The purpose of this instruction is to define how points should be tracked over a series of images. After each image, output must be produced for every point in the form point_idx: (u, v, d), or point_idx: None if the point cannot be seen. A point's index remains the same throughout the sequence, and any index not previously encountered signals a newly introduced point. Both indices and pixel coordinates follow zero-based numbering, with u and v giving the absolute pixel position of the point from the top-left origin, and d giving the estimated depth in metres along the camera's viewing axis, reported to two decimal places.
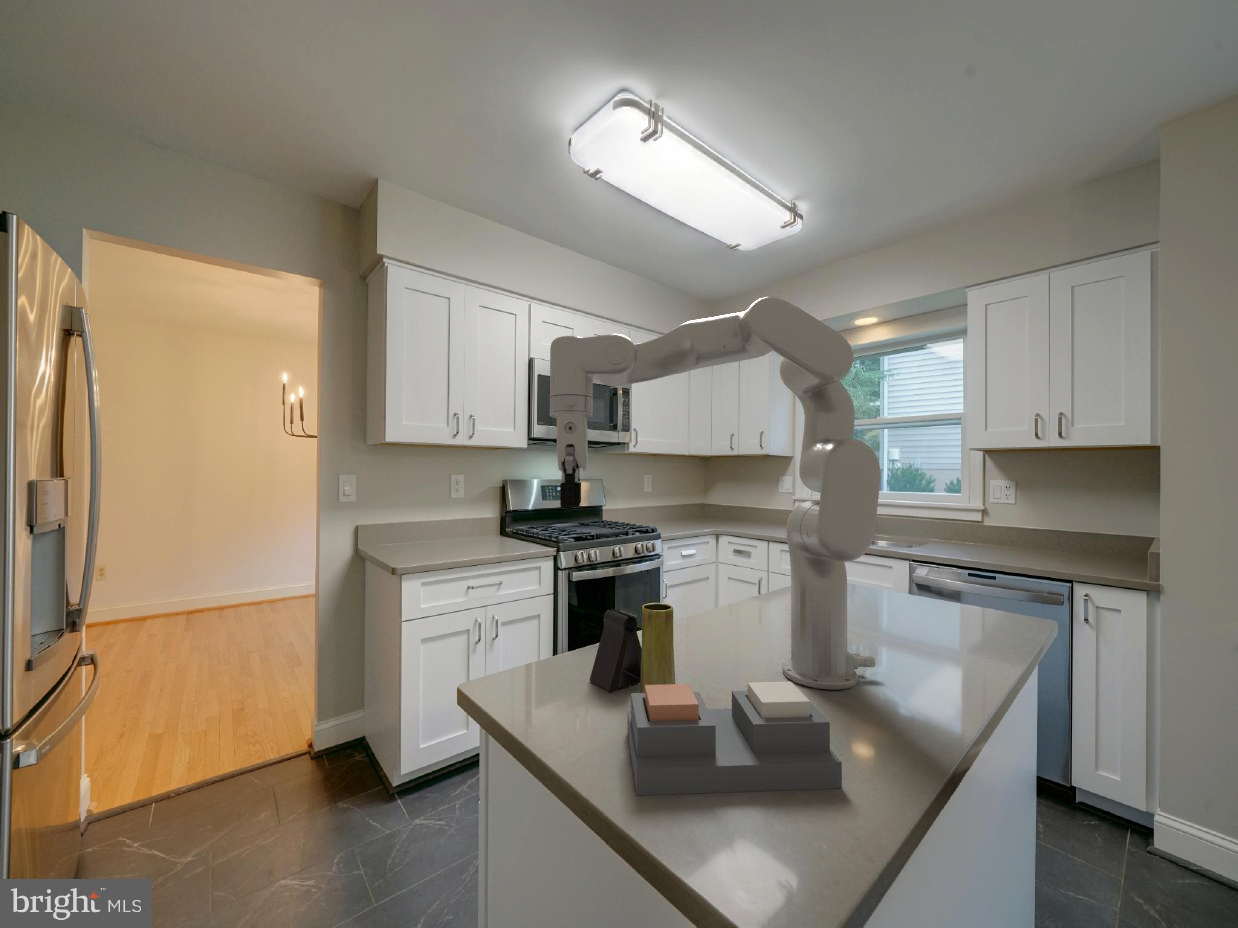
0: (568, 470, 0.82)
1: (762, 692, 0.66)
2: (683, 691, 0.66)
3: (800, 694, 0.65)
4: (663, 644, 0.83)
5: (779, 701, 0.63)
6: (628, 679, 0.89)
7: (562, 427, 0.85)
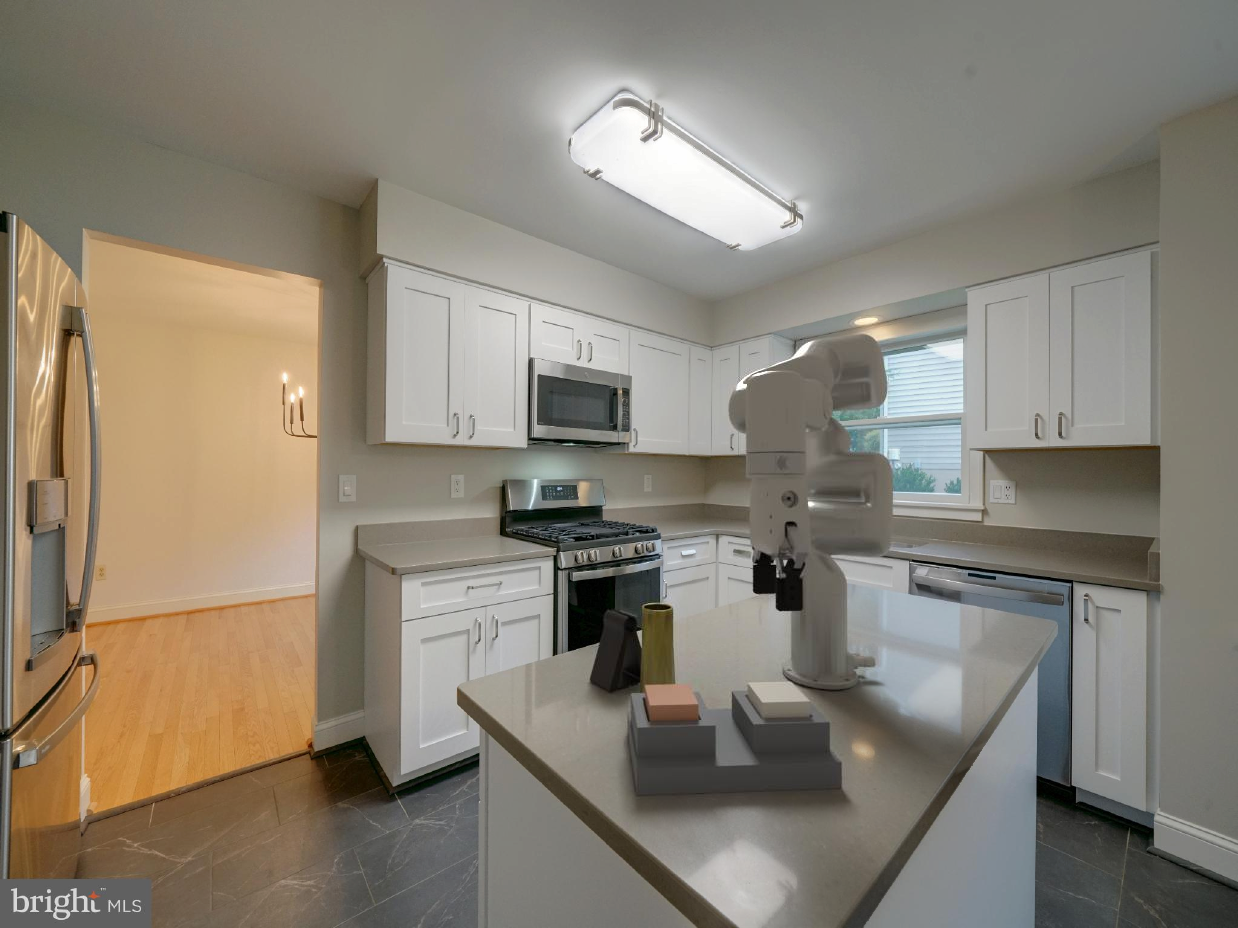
0: (797, 564, 0.59)
1: (762, 692, 0.66)
2: (683, 691, 0.66)
3: (800, 694, 0.65)
4: (663, 644, 0.83)
5: (779, 701, 0.63)
6: (628, 679, 0.89)
7: (778, 497, 0.62)
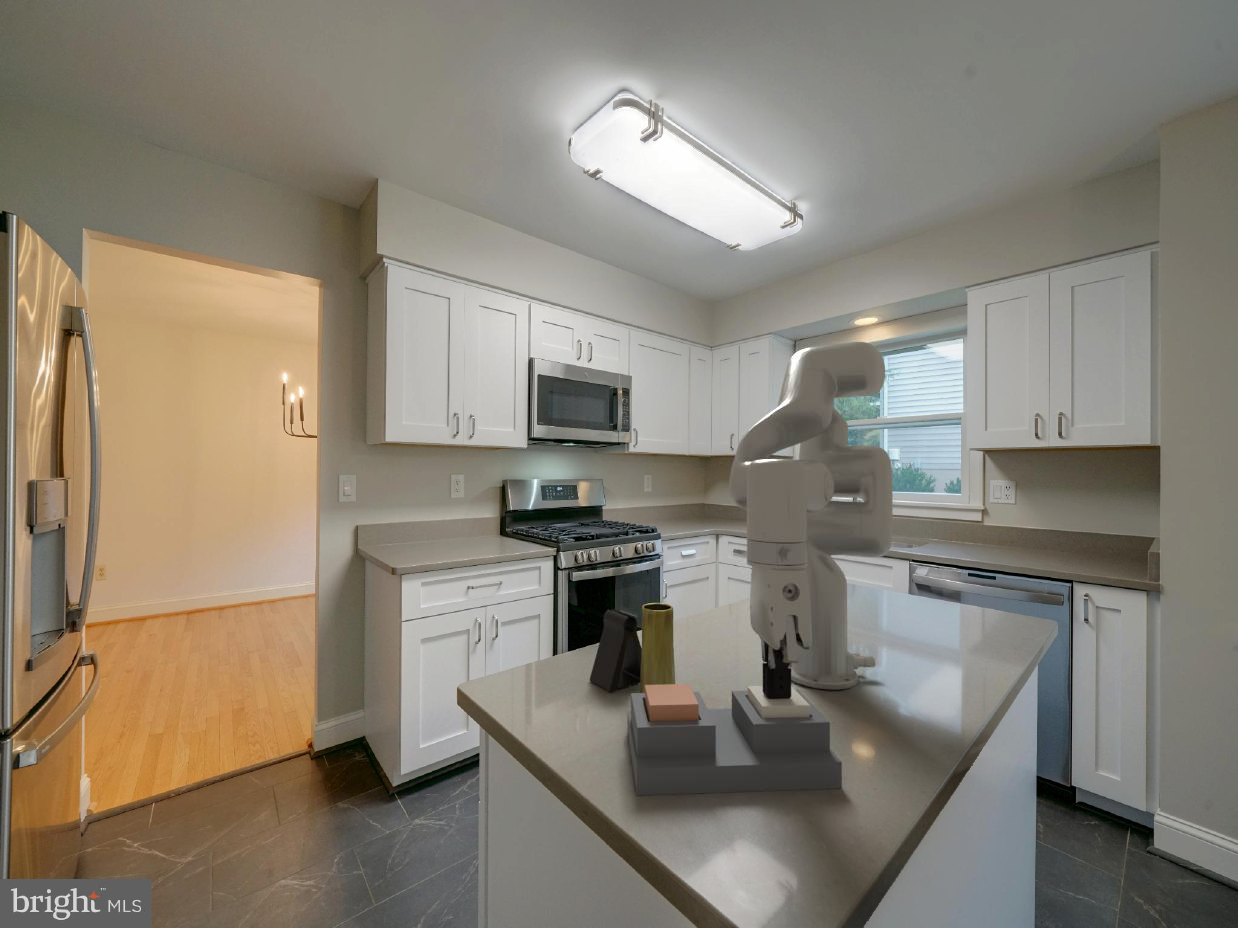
0: None
1: (762, 696, 0.66)
2: (683, 691, 0.66)
3: (800, 698, 0.65)
4: (663, 644, 0.83)
5: (779, 705, 0.63)
6: (628, 679, 0.89)
7: (779, 590, 0.62)
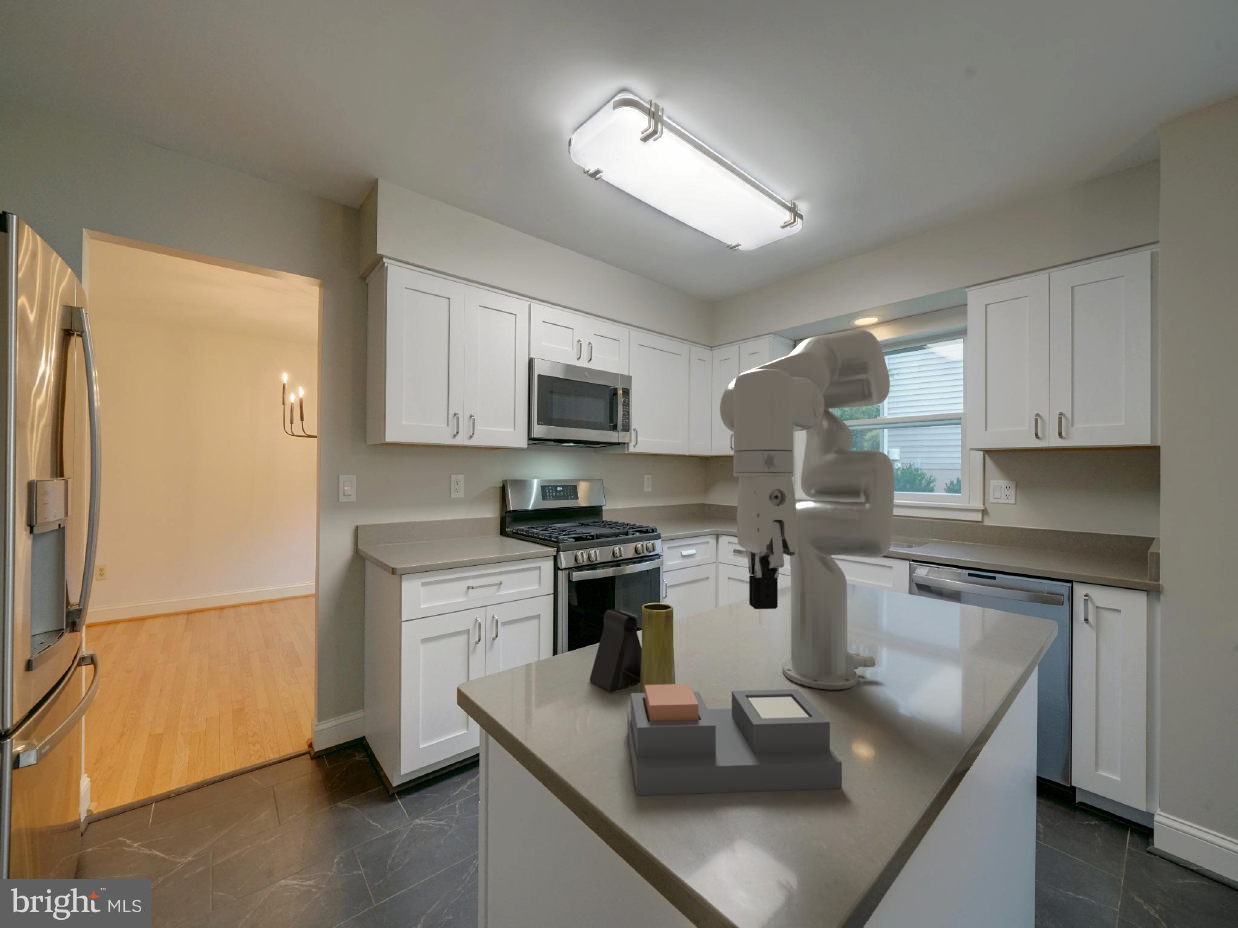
0: None
1: (762, 708, 0.66)
2: (683, 691, 0.66)
3: (800, 710, 0.65)
4: (663, 644, 0.83)
5: (779, 717, 0.63)
6: (628, 679, 0.89)
7: (766, 496, 0.62)
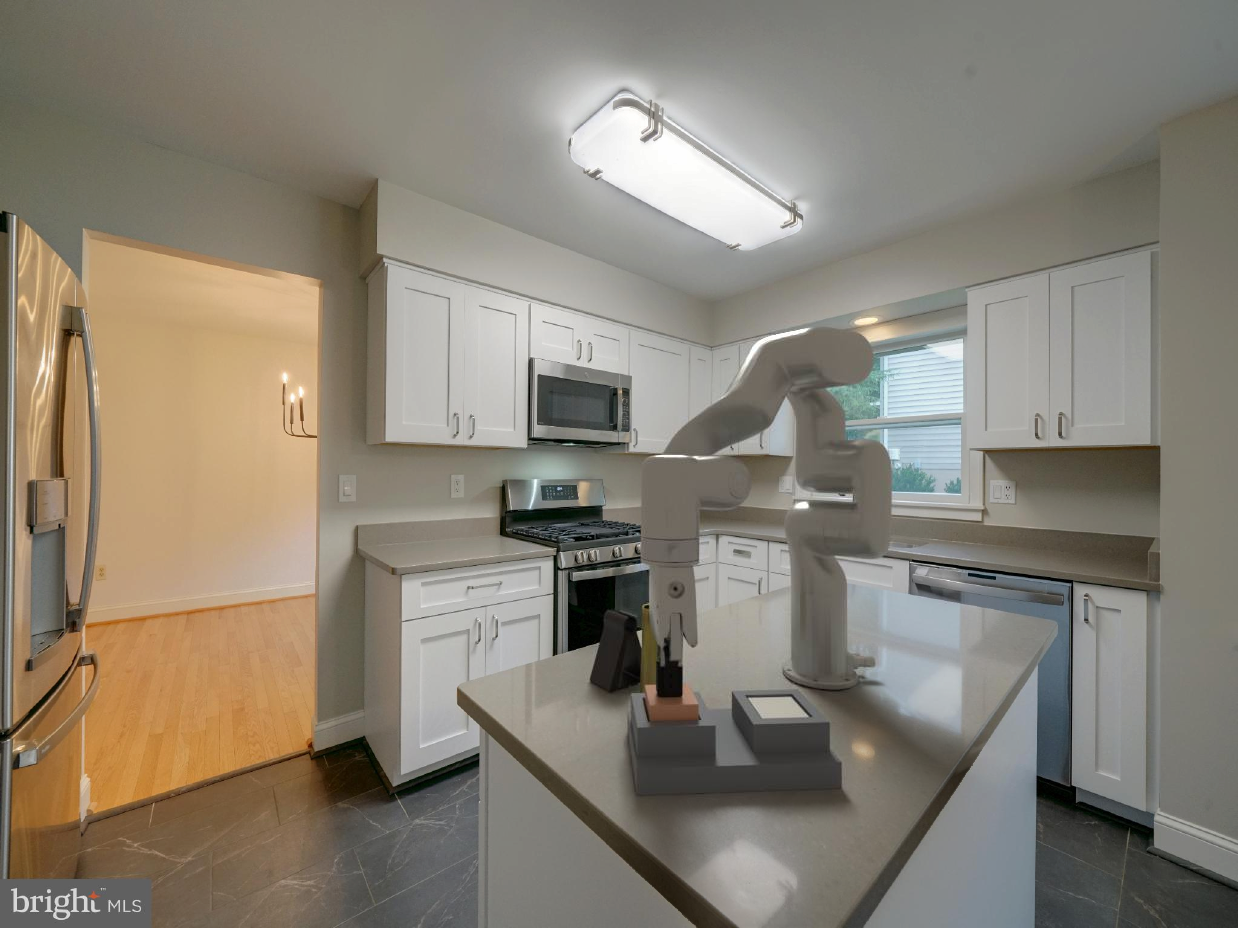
0: None
1: (762, 708, 0.66)
2: (683, 691, 0.66)
3: (800, 710, 0.65)
4: None
5: (779, 717, 0.63)
6: (628, 679, 0.89)
7: (665, 588, 0.61)
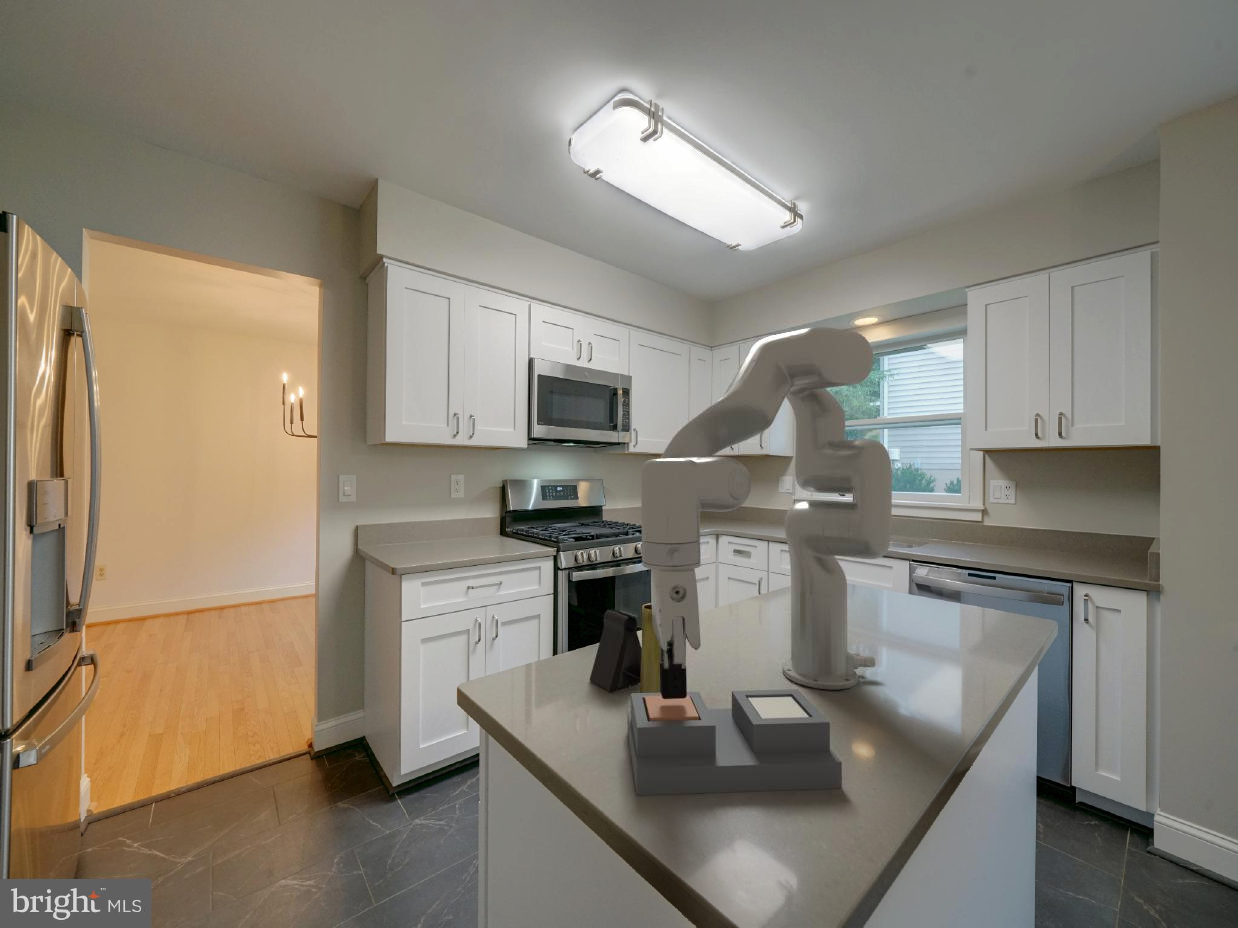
0: None
1: (762, 708, 0.66)
2: (683, 702, 0.66)
3: (800, 710, 0.65)
4: None
5: (779, 717, 0.63)
6: (628, 679, 0.89)
7: (666, 592, 0.61)
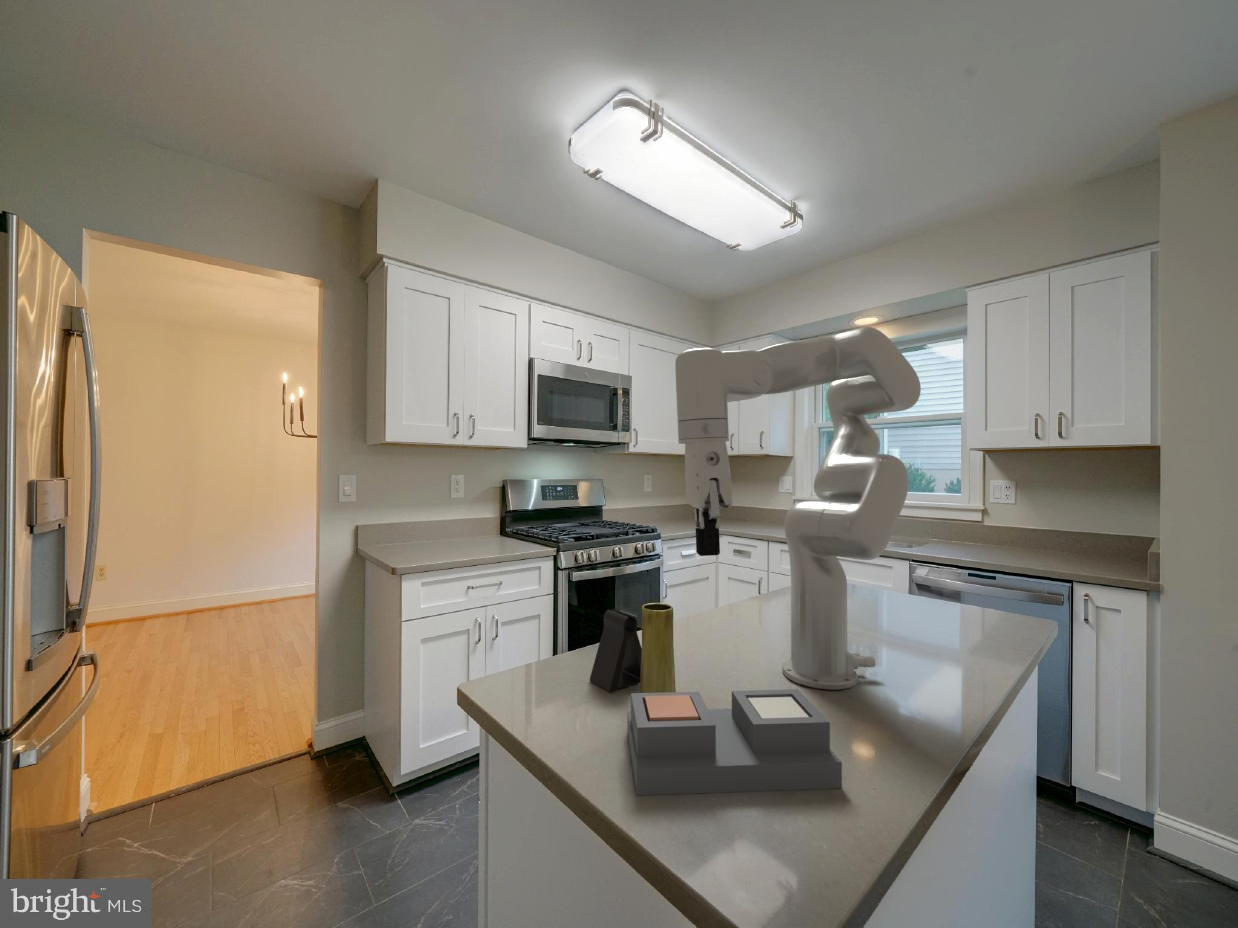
0: None
1: (762, 708, 0.66)
2: (683, 702, 0.66)
3: (800, 710, 0.65)
4: (663, 644, 0.83)
5: (779, 717, 0.63)
6: (628, 679, 0.89)
7: (703, 458, 0.72)
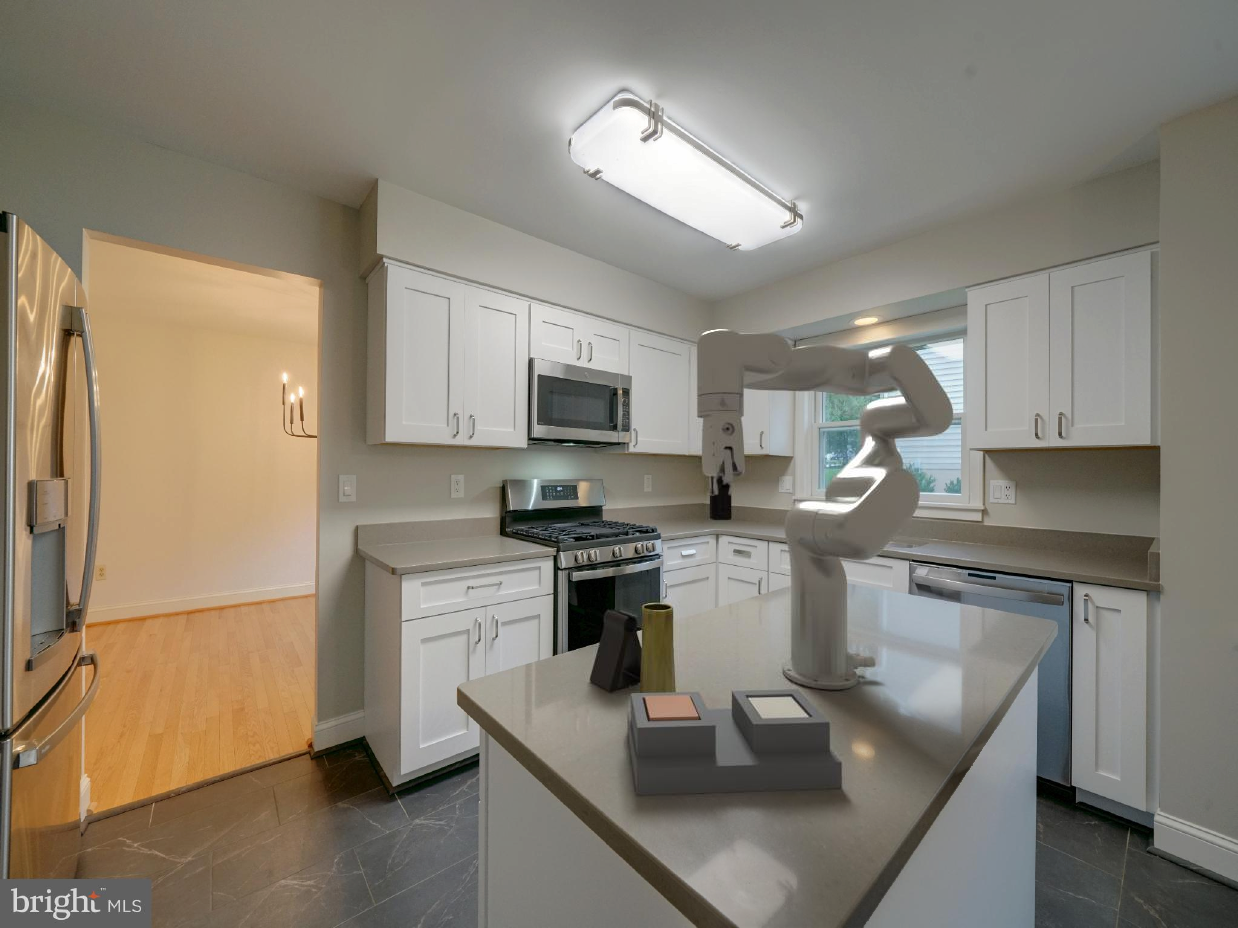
0: None
1: (762, 708, 0.66)
2: (683, 702, 0.66)
3: (800, 710, 0.65)
4: (663, 644, 0.83)
5: (779, 717, 0.63)
6: (628, 679, 0.89)
7: (719, 428, 0.79)
